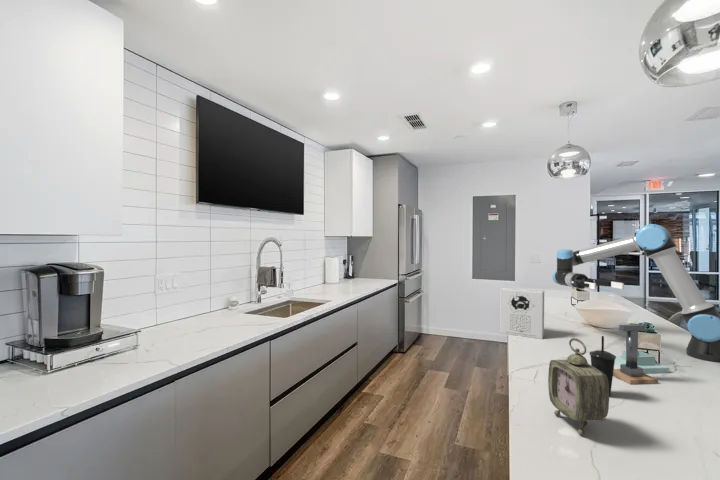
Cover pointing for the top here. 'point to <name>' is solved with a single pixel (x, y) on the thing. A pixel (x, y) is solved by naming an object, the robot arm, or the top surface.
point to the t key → (632, 350)
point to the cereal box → (522, 312)
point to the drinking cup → (604, 362)
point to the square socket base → (644, 363)
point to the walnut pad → (634, 378)
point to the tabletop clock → (578, 388)
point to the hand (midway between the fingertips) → (609, 286)
